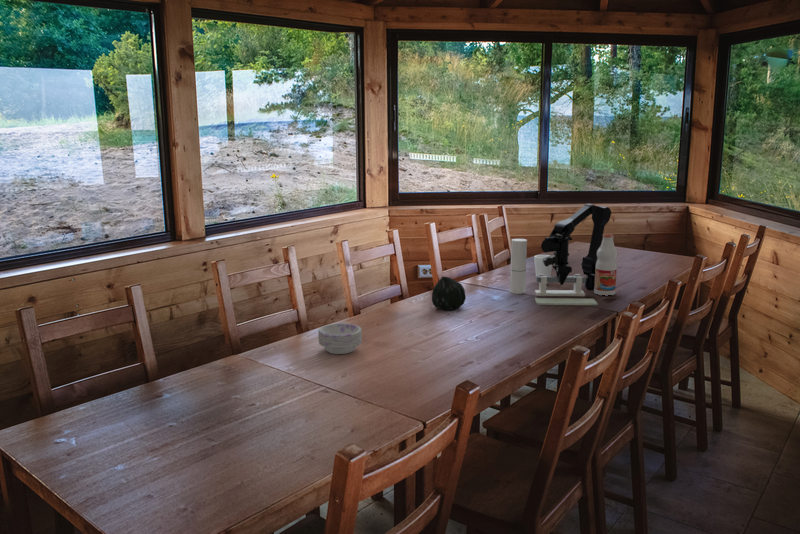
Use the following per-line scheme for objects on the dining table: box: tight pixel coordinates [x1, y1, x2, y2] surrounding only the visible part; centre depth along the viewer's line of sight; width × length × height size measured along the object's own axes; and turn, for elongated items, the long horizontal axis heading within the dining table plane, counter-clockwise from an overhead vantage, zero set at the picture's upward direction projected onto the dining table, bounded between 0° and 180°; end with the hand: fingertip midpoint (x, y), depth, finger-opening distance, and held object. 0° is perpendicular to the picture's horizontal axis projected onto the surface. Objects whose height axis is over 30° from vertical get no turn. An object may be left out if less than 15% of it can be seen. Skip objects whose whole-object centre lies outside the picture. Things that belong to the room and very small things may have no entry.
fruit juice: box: [593, 233, 618, 297], centre depth 291 cm, size 9×9×28 cm
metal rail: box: [535, 275, 586, 284], centre depth 292 cm, size 22×3×2 cm, turn 87°
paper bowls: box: [317, 322, 363, 355], centre depth 222 cm, size 15×15×8 cm
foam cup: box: [533, 254, 553, 277], centre depth 315 cm, size 10×9×13 cm
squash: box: [431, 276, 467, 311], centre depth 272 cm, size 14×15×15 cm
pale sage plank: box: [534, 297, 599, 306], centre depth 279 cm, size 26×8×1 cm, turn 87°
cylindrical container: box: [509, 238, 528, 295], centre depth 295 cm, size 7×7×25 cm
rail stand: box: [534, 273, 586, 297], centre depth 292 cm, size 22×6×9 cm, turn 87°
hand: (560, 283), depth 292 cm, fingers open, 6 cm apart
